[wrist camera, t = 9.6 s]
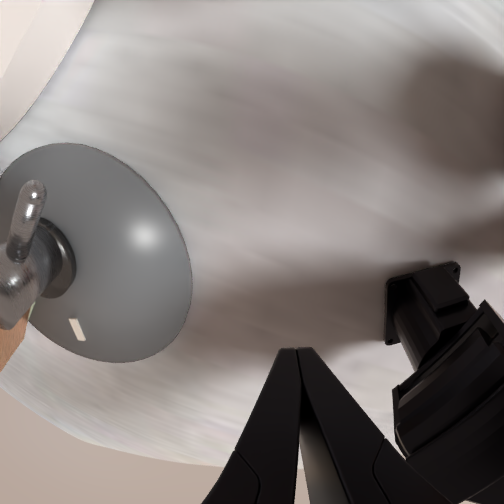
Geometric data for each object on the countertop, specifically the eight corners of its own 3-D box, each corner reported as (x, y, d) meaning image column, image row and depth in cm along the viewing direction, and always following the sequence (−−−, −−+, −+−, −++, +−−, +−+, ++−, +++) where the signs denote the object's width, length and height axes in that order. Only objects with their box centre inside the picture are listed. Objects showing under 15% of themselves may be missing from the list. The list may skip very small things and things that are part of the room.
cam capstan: (47, 137, 15) (-67, 181, 7) (118, 190, 17) (21, 269, 9) (1, 311, 22) (-49, 375, 14) (48, 349, 24) (6, 422, 16)
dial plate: (225, 348, 24) (224, 355, 23) (52, 360, 26) (49, 365, 25) (139, 98, 15) (135, 98, 15) (-35, 195, 18) (-40, 198, 17)
